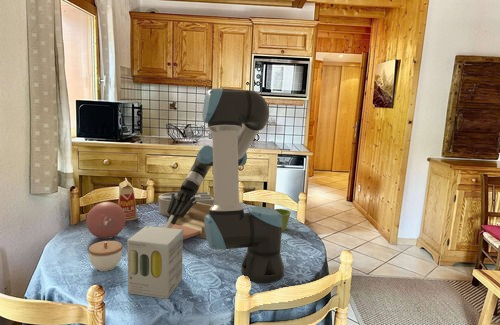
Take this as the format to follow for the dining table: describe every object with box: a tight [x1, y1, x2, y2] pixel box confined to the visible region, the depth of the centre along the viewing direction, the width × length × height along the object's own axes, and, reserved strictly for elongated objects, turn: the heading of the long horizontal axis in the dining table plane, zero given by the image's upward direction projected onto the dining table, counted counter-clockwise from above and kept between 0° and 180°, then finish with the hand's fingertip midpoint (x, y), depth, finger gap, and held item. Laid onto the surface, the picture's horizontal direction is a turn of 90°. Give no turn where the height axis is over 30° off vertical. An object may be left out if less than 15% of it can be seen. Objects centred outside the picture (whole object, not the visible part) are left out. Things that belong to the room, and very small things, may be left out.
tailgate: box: [160, 224, 200, 240], centre depth 150 cm, size 2×16×12 cm
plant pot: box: [273, 208, 292, 232], centre depth 168 cm, size 9×9×9 cm
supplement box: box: [127, 225, 184, 300], centre depth 110 cm, size 13×13×18 cm
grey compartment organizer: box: [158, 191, 214, 217], centre depth 187 cm, size 17×28×9 cm, turn 107°
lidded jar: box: [88, 240, 123, 272], centre depth 121 cm, size 11×11×9 cm
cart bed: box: [175, 202, 213, 239], centre depth 163 cm, size 16×20×10 cm
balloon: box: [85, 201, 127, 240], centre depth 144 cm, size 15×20×15 cm
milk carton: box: [117, 177, 138, 222], centre depth 171 cm, size 9×9×20 cm
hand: (166, 230), depth 144 cm, fingers closed
